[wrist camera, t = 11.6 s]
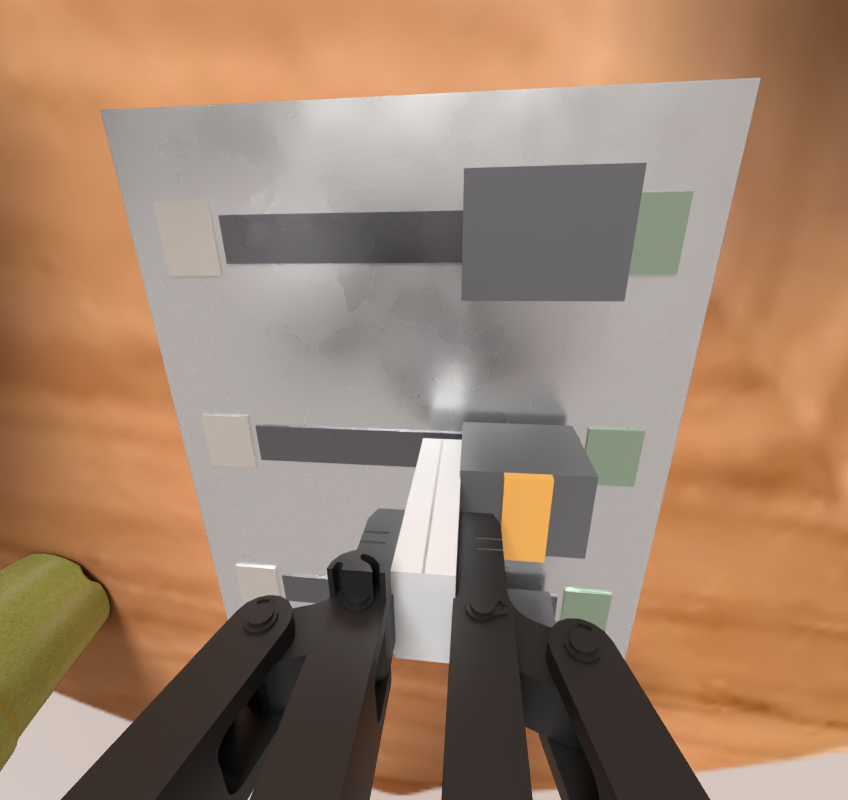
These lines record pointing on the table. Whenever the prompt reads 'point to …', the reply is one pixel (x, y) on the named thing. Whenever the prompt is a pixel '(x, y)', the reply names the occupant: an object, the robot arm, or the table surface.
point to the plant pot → (41, 635)
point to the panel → (415, 312)
